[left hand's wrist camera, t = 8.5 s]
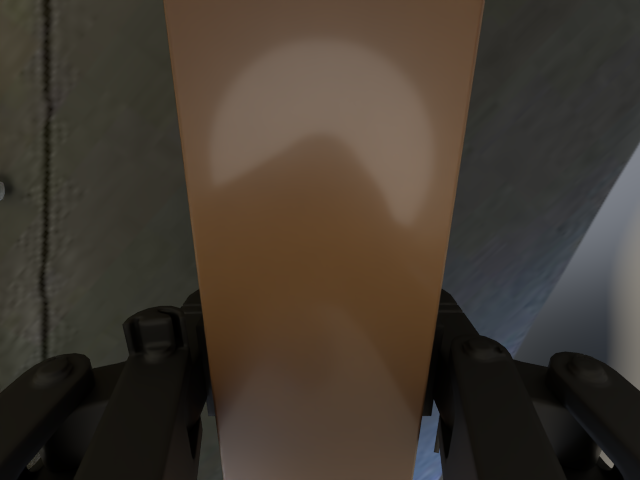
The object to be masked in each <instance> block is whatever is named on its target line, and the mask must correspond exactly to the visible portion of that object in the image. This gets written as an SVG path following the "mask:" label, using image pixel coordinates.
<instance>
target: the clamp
mask: <svg viewBox="0 0 640 480" xmlns="http://www.w3.org/2000/svg"><path fill="white" fill-rule="evenodd" d="M4 194H5V187H4V183H3V182H0V200H2V199H3V197H4Z"/></svg>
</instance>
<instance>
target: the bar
mask: <svg viewBox="0 0 640 480" xmlns="http://www.w3.org/2000/svg"><path fill="white" fill-rule="evenodd" d="M163 3H164V11H165V19H166V27H167V35H168V43H169V51H170V59H171V67H172V75H173V83H174V91H175V99H176V107H177V115H178V122H179V130H180V138H181V146H182V154H183V162H184V170H185V178H186V186H187V194H188V202H189V210H190V218H191V226H192V234H193V242H194V250H195V258H196V266H197V274H198V282H199V290H200V298H201V305H202V313H203V321H204V329H205V337H206V345H207V353H208V361H209V369H210V377H211V385H212V393H213V401H214V409H215V417H216V425H217V433H218V441H219V449H220V457H221V465H222V473H223V480H413V473H414V466H415V460H416V453H417V447H418V440H419V433H420V427H421V420H422V414H423V407H424V400H425V394H426V387H427V381H428V374H429V367H430V361H431V354H432V348H433V341H434V334H435V328H436V321H437V314H438V308H439V301H440V295H441V288H442V281H443V275H444V268H445V262H446V255H447V248H448V242H449V235H450V229H451V222H452V215H453V209H454V202H455V195H456V189H457V182H458V176H459V169H460V162H461V156H462V149H463V143H464V136H465V129H466V123H467V116H468V110H469V103H470V96H471V90H472V83H473V77H474V70H475V63H476V57H477V50H478V43H479V37H480V30H481V24H482V17H483V10H484V4H485V0H163Z"/></svg>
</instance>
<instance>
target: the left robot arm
mask: <svg viewBox="0 0 640 480" xmlns="http://www.w3.org/2000/svg"><path fill="white" fill-rule="evenodd" d="M122 325H123V329H124V334H125V338H126V342H127V347H128V351H129V357H128V359H127V361H125V362H121V363H117V364H113V365H108V366H103V367H98V368H93V369H92V366H91V363H90V359H89V358H88V357H86V356H85V355H83V354H77V353H73V354H63V355H58V356H56V357H55V356H54V357H51V358H49V359H47V360H45V361H43V362H41V363H38V364H36V365H35V366H33V367H32V368H30V369H29V370H27V371H26V372H24V373H23V374H22V375H21V376H20V377H19V378H17V379H16V380H15V381H14V382H13V383H12V384H10V385H9V386H8V387H7V388H6V389H5V390H3V391H2V392H1V393H0V480H197V474H198V465H199V456H200V448H201V439H202V423H201V416H200V414H201V412H202V409H203V407H204V404H205V402H207V409H208V415H209V416H215V409H214V401H213V393H212V385H211V377H210V369H209V361H208V353H207V345H206V337H205V329H204V321H203V313H202V305H201V298H200V290H197V291H196V292H194V293H193V294H191V295H190V296H189V297H188V298H187V300H186V301H185V302H184V304H183V306H182V307H181V308H177V307H173V306H158V307H153V308H148V309H145V310H143V311H140V312H137V313H136V314H134V315H132V316H131V317H129V318H128V319H127V320H126V321H125V322H124V323H123V324H122ZM433 400H434V401H435V403H436V406H437V408H438V411H439V413H440V416H439V423H438V429H437V435H436V442H435V448H434V452H436V453H439V448H440V456H441V464H442V473H443V480H640V391H639V390H638V389H637V388H636V387H634V386H633V385H632V384H631V383H630V382H628V381H627V380H626V379H625V378H624V377H623V376H621V375H620V374H619V373H618V372H617V371H615V370H614V369H612V368H611V367H609V366H608V365H607V364H605V363H603V362H601V361H599V360H597V359H595V358H593V357H591V356H588V355H583V354H580V353H573V352H560V353H555V354H554V355H553V356H552V357H551V358H550V362H549V365H548V367H544V366H540V365H535V364H530V363H525V362H520V361H517V360H513V359H512V357H511V354H510V353H509V352H508V350H507V349H506V348H505V347H504V346H502V345H501V344H500V343H498V342H497V341H495V340H492V339H490V338H488V337H485V336H481V335H479V333H478V332H477V331H476V329H475V328H474V326H473V325H472V324H471V322H470V321H469V319H468V318H467V317H466V315H465V314H464V313H462V310H461V308H460V307H459V306H458V305H457V303H456V301H455V300H454V299H453V297H452V296H451V294H449V293H448V292H446V291H445V290H443V289H441V295H440V301H439V308H438V314H437V321H436V328H435V334H434V341H433V348H432V354H431V361H430V367H429V374H428V381H427V387H426V394H425V400H424V407H423V414H422V416H431V414H432V407H433ZM601 450H603V452H604V453H605V454H606V455H607V456H608V457H609V459H610V460H611V461H612V462H613V463H614V466H613V468H610V467H609V466H608V465H607V464H606V463H605V462H604V461H603V460H602V458H601V457H600V456H599V455H600V453H601ZM38 452H39V454H40V456H41V458H40V459H39V460H38V461H37V463H36V464H35V465H34V466H33V467H31V468H30V469H29V470H28V469H27V467H26V466H27V464H28V463H29V462H30V461H31V460H32V459H33V457H34V456H35V455H36V454H37V453H38Z"/></svg>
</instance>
